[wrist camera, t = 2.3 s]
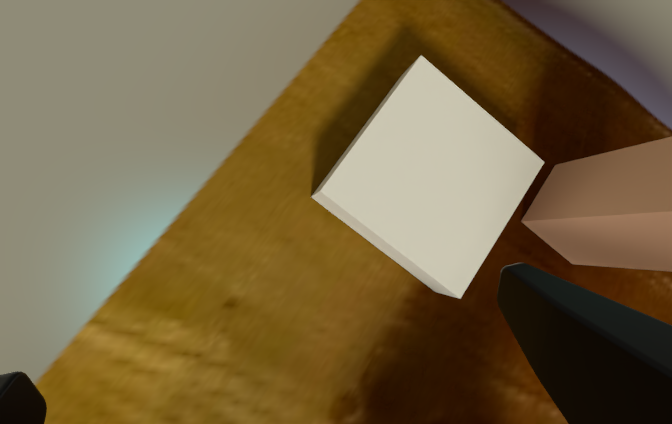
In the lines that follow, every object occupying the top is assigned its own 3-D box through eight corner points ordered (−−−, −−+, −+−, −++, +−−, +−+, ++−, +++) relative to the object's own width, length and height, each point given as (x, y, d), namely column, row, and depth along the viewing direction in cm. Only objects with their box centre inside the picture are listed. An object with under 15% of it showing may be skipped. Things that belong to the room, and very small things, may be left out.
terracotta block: (604, 207, 29) (885, 181, 16) (572, 264, 28) (844, 284, 15) (555, 165, 28) (809, 103, 15) (520, 221, 27) (761, 205, 15)
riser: (512, 170, 27) (544, 162, 24) (435, 292, 25) (460, 298, 22) (401, 75, 26) (421, 54, 23) (310, 197, 24) (320, 191, 21)
